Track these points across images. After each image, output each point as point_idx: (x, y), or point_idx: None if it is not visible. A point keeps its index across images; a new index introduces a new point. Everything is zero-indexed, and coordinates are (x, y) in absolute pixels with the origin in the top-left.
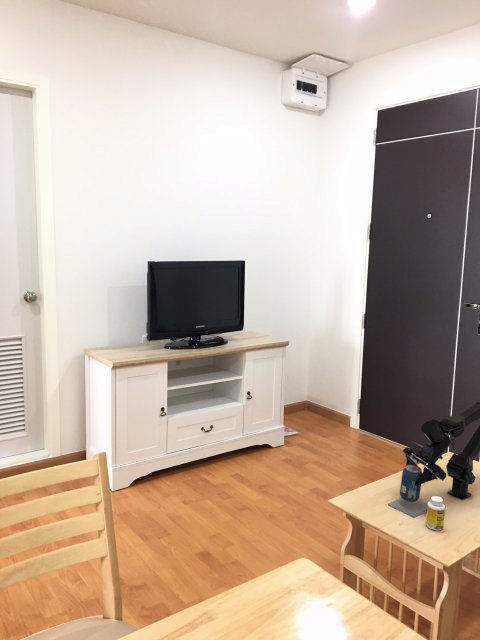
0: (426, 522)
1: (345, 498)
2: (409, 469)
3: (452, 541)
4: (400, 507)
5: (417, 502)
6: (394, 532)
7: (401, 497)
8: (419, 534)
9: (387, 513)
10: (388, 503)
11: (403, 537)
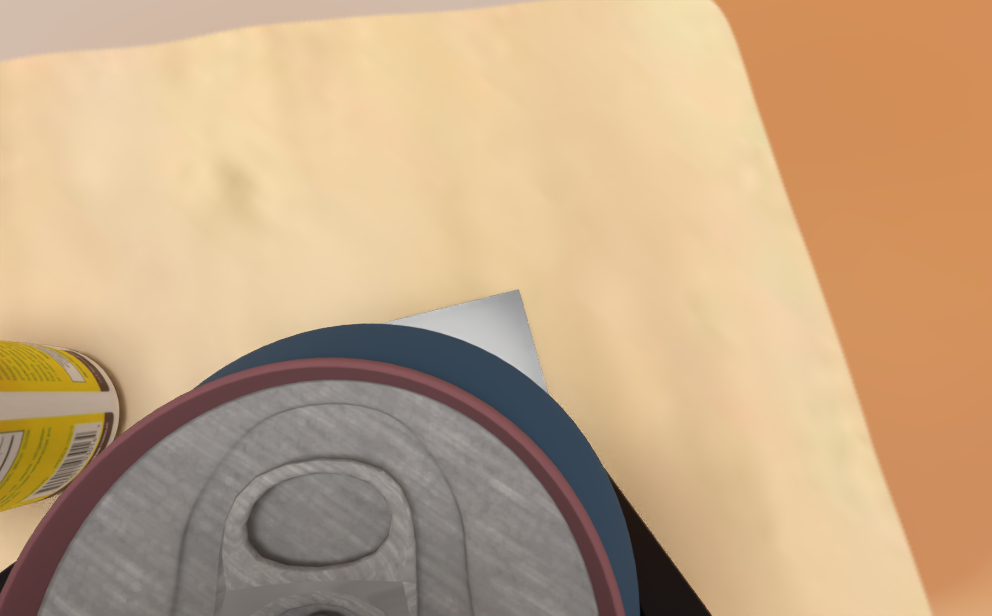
0: (64, 352)
1: (714, 67)
2: (364, 509)
3: None
4: None
5: None
6: (162, 62)
7: None
8: (32, 212)
9: (410, 201)
10: (519, 295)
11: (71, 73)
